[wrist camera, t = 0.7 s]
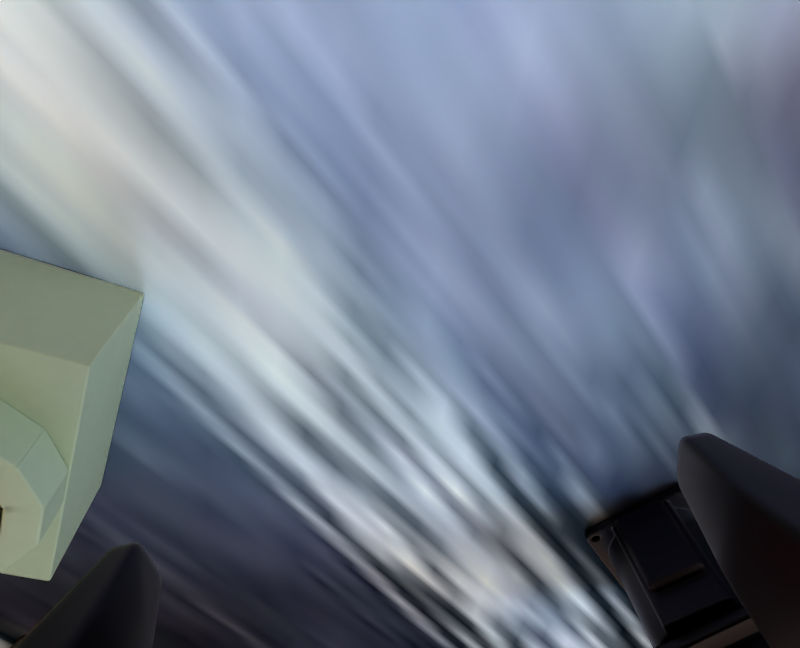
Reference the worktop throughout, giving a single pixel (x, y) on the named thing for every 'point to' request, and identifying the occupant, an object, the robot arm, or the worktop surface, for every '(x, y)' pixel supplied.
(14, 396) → the button base
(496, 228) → the worktop surface
